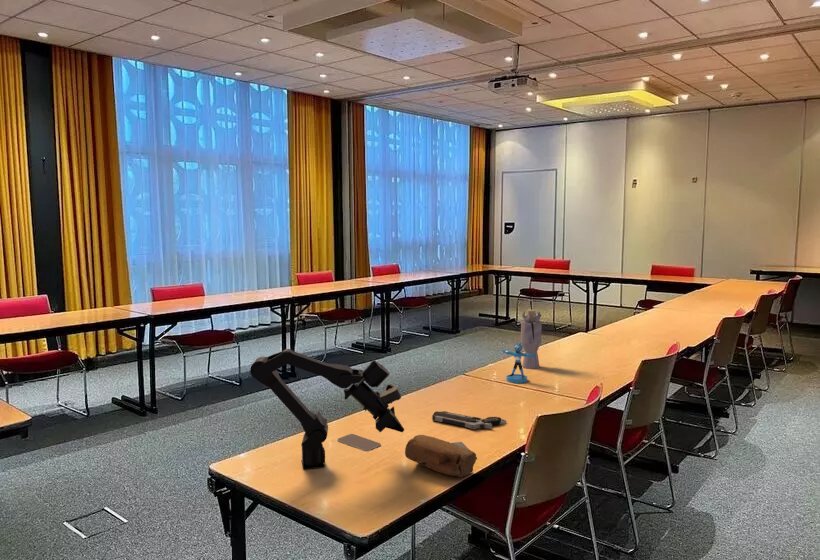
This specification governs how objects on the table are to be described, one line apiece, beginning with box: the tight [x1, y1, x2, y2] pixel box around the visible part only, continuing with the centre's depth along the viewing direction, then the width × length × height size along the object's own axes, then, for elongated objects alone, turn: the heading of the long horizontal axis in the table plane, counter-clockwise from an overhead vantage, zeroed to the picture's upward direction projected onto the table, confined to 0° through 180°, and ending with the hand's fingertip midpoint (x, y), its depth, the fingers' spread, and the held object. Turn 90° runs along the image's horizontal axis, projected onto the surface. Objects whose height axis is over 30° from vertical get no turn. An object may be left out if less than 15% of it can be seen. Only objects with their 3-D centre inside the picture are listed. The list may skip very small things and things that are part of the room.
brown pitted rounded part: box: [404, 434, 477, 478], centre depth 178 cm, size 11×8×20 cm
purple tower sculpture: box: [520, 309, 543, 370], centre depth 303 cm, size 10×10×30 cm
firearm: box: [431, 410, 507, 430], centre depth 221 cm, size 3×24×15 cm
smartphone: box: [337, 433, 382, 452], centre depth 201 cm, size 7×1×15 cm
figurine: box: [501, 342, 536, 384], centre depth 277 cm, size 18×10×18 cm, turn 52°
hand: (403, 430), depth 184 cm, fingers closed
